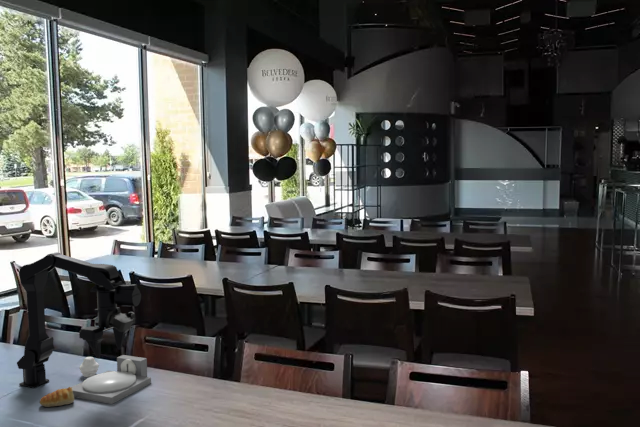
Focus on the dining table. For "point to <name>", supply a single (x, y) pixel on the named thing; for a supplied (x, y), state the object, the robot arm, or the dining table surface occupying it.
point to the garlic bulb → (89, 367)
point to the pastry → (58, 397)
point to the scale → (115, 381)
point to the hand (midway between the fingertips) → (109, 353)
